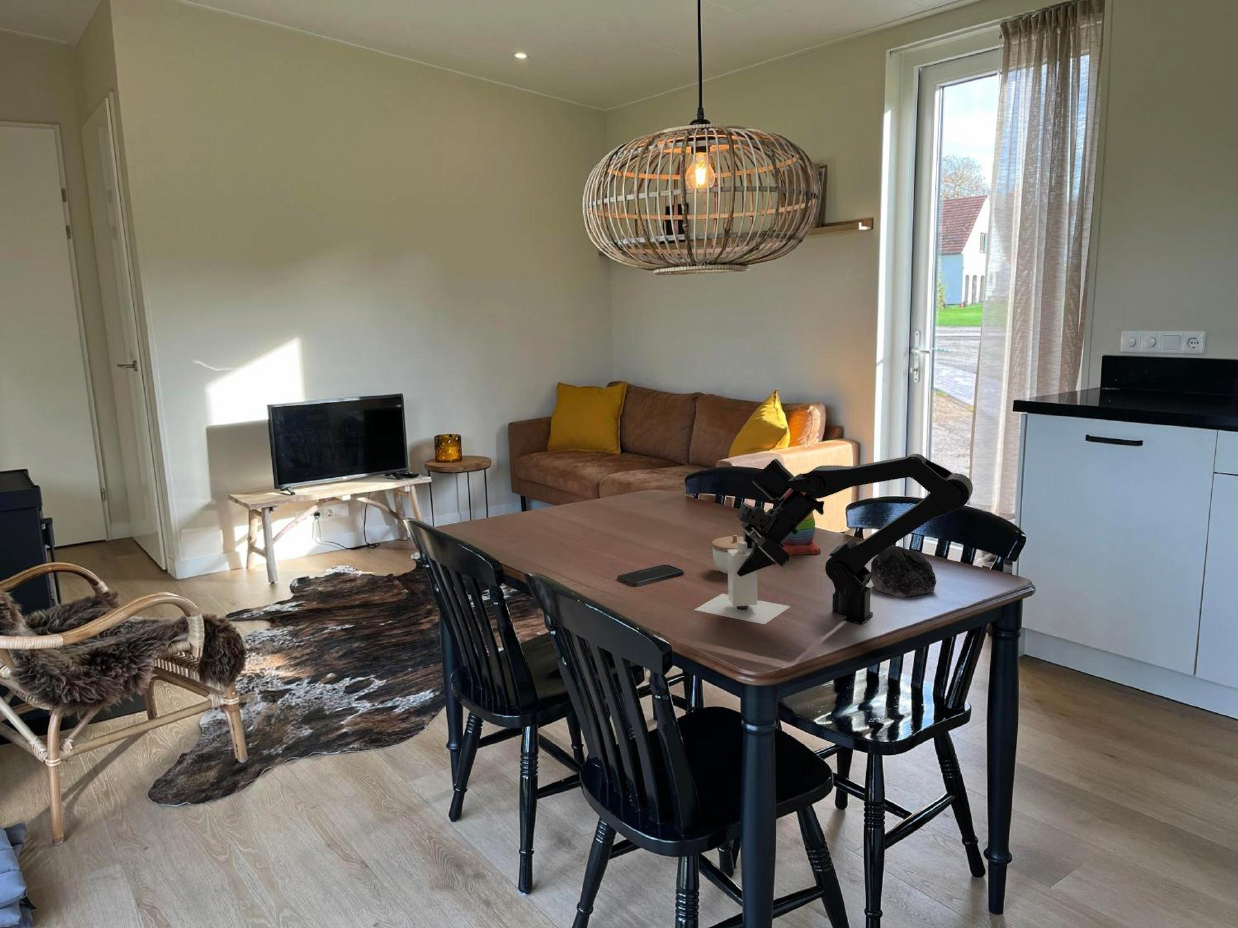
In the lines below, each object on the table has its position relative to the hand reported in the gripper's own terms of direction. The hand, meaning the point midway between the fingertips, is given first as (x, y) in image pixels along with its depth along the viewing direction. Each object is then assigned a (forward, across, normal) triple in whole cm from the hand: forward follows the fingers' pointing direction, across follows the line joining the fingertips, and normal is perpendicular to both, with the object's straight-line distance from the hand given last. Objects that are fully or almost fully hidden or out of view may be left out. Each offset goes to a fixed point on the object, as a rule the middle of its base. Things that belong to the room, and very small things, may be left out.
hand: (735, 571), depth 176 cm
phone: (+17, -28, -4) cm, 33 cm away
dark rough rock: (-21, -10, +35) cm, 42 cm away
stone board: (+5, 0, +7) cm, 9 cm away
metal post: (+5, 0, +7) cm, 8 cm away
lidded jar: (+3, -27, +10) cm, 29 cm away
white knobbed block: (+4, 0, +6) cm, 7 cm away
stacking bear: (-11, -44, +24) cm, 51 cm away
